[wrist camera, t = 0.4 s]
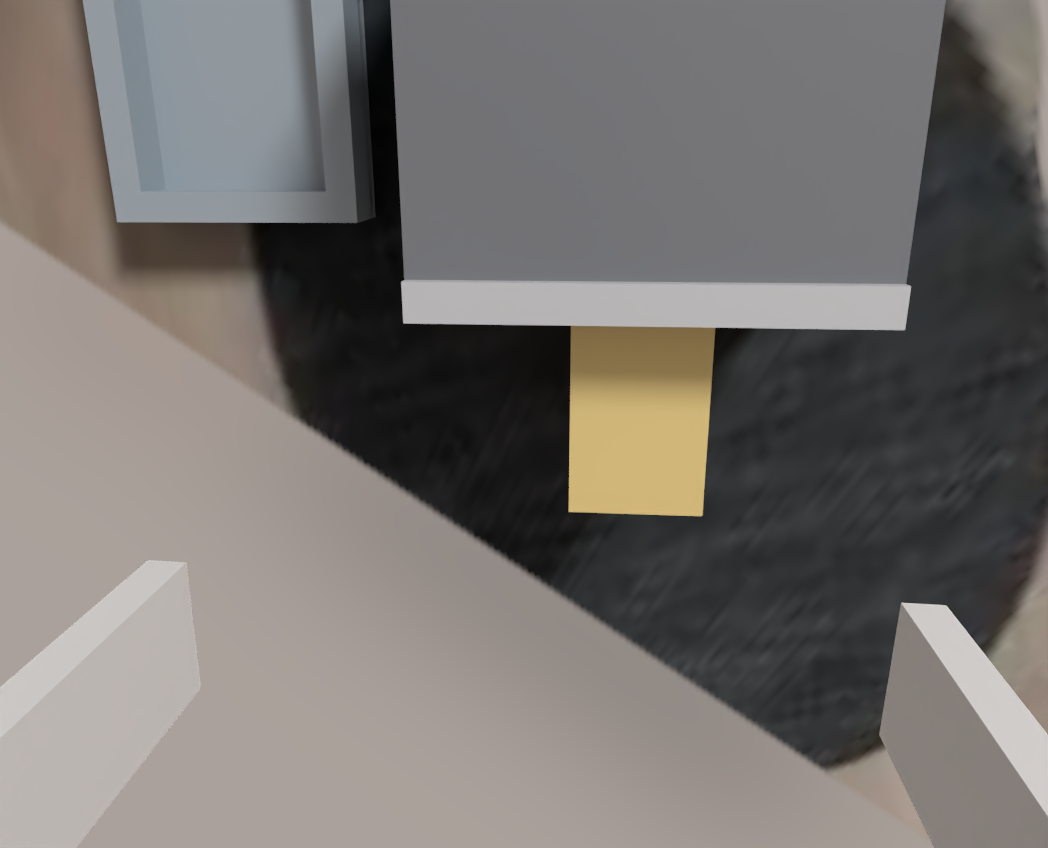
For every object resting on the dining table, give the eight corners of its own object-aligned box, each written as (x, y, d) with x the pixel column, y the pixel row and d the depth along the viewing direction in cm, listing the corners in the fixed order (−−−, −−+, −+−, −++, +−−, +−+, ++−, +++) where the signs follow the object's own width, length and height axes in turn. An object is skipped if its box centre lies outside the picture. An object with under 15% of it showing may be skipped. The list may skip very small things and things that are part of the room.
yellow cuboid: (581, 142, 34) (573, 140, 25) (692, 141, 34) (727, 139, 24) (576, 420, 38) (568, 511, 28) (677, 423, 37) (702, 516, 28)
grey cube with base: (459, -108, 32) (373, -263, 20) (839, -121, 30) (993, -293, 18) (469, 264, 36) (403, 323, 24) (801, 267, 35) (904, 329, 23)
